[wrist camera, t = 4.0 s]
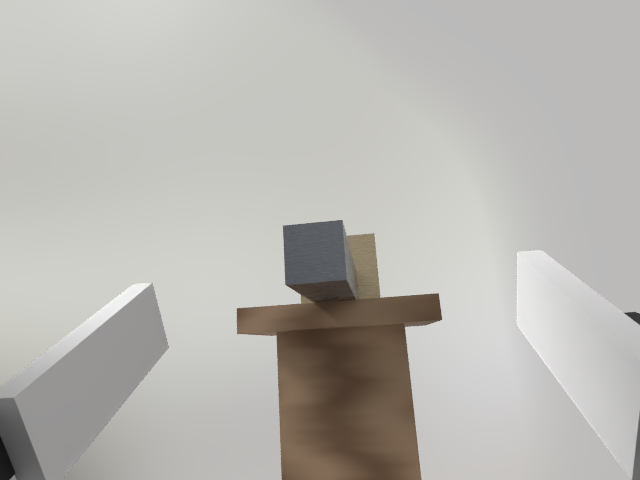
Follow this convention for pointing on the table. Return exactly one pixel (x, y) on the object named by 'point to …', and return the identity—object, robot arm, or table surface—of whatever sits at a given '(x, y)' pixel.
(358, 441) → the stand
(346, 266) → the gray and beige block
